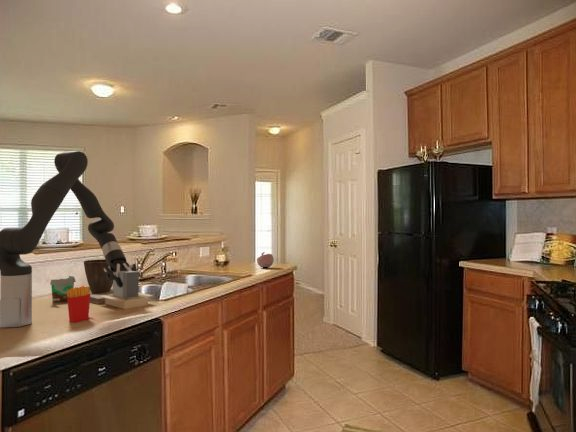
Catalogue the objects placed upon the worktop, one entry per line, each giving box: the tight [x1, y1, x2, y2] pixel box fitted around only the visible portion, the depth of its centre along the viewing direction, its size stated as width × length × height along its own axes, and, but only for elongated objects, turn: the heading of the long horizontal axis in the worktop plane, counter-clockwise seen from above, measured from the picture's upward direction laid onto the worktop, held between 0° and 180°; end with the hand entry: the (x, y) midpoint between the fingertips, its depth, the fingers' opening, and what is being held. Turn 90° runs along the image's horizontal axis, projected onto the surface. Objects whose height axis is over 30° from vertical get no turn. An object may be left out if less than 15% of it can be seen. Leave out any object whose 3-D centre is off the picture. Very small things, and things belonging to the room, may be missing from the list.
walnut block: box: [90, 291, 113, 305], centre depth 191 cm, size 12×12×3 cm
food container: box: [49, 275, 76, 303], centre depth 194 cm, size 12×6×10 cm, turn 168°
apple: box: [256, 251, 275, 268], centre depth 313 cm, size 12×12×12 cm
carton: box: [99, 291, 154, 310], centre depth 182 cm, size 15×16×4 cm
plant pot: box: [83, 258, 113, 295], centre depth 210 cm, size 15×15×16 cm
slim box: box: [112, 271, 140, 298], centre depth 182 cm, size 5×11×10 cm, turn 49°
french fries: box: [66, 285, 91, 323], centre depth 157 cm, size 8×4×12 cm, turn 153°
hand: (127, 285), depth 181 cm, fingers closed on slim box, 5 cm apart
